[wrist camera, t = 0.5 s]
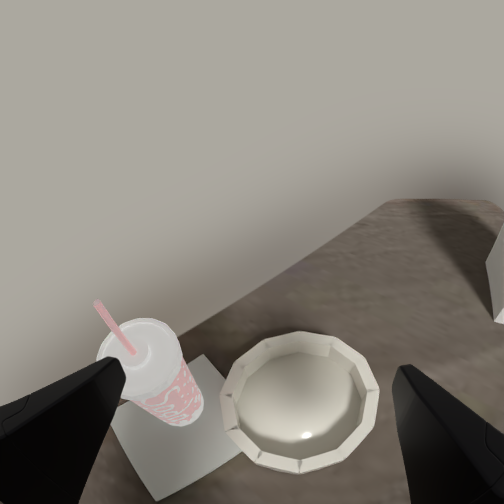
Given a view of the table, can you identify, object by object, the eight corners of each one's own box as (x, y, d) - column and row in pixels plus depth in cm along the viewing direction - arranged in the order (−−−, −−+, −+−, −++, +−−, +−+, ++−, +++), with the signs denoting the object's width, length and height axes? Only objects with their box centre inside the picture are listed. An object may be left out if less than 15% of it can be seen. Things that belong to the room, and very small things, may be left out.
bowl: (351, 483, 14) (361, 481, 12) (207, 449, 18) (196, 442, 16) (375, 360, 22) (383, 343, 21) (255, 339, 26) (252, 321, 24)
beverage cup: (149, 436, 18) (40, 354, 10) (148, 378, 23) (68, 273, 14) (217, 430, 19) (144, 344, 10) (208, 370, 24) (153, 254, 15)
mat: (157, 501, 14) (155, 501, 13) (107, 414, 20) (105, 413, 20) (272, 428, 19) (271, 428, 19) (203, 355, 25) (203, 353, 25)
